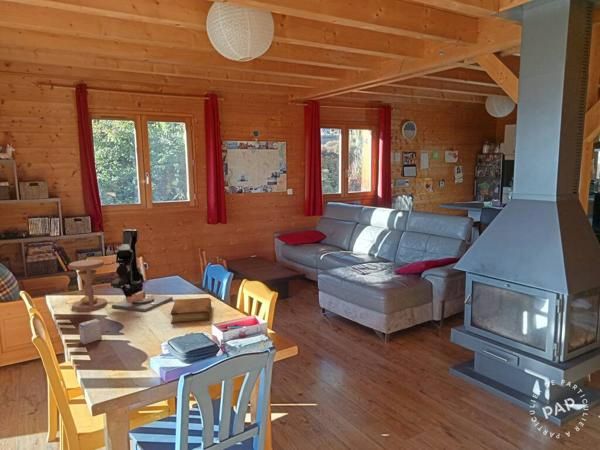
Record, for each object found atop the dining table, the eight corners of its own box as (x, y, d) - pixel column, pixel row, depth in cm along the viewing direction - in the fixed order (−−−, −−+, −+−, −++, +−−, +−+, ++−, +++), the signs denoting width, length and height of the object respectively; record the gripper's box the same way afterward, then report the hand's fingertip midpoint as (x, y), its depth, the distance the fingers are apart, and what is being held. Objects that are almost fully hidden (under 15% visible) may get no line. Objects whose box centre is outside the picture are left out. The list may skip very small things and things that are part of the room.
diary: (209, 321, 219) (209, 310, 218) (171, 324, 216) (170, 313, 215) (211, 307, 241) (210, 297, 240) (176, 309, 238) (175, 299, 237)
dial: (141, 296, 256) (141, 287, 255) (158, 298, 252) (158, 289, 251) (120, 305, 240) (119, 295, 240) (137, 307, 236) (137, 297, 235)
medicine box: (97, 336, 201) (96, 318, 199) (102, 339, 198) (100, 320, 197) (79, 342, 195) (78, 323, 193) (84, 344, 192) (83, 325, 191)
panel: (112, 307, 242) (111, 303, 242) (141, 295, 263) (140, 292, 263) (145, 311, 234) (145, 308, 234) (172, 299, 255) (172, 295, 255)
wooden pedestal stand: (106, 308, 240) (102, 264, 236) (70, 313, 234) (66, 267, 230) (107, 299, 256) (104, 258, 253) (74, 303, 250) (70, 260, 246)
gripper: (101, 273, 236) (103, 301, 239) (126, 276, 228) (128, 305, 230) (118, 268, 246) (120, 295, 248) (142, 272, 238) (144, 299, 240)
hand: (127, 299), depth 242 cm, fingers closed
